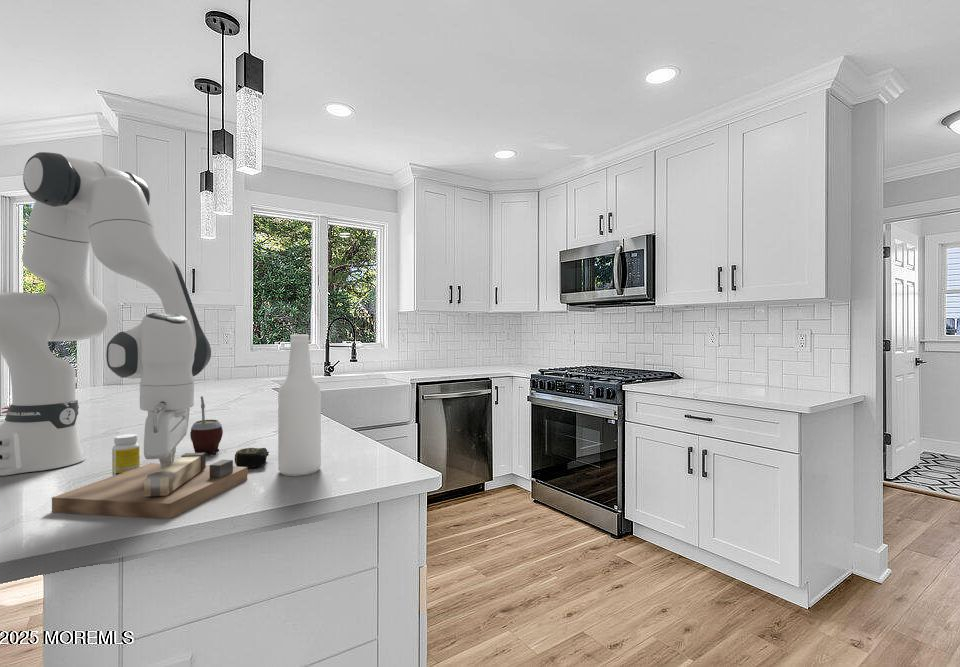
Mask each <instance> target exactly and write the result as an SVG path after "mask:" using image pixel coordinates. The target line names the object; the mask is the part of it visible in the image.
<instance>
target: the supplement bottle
mask: <svg viewBox="0 0 960 667" xmlns="http://www.w3.org/2000/svg"><path fill="white" fill-rule="evenodd" d="M113 441H114V445H113V447H112V449H111V450H112V452H111V454H112V458H111V459H112V466H111V468H112V476H115V475H118V474H121V473H124V472H127V471H130V470H133V469H135V468H138V467H141V466H140V463H141V462H140V459H141V458H140V444H139V443H138V435H137V434H136V433H127V434H120V435H117V436H114V440H113Z"/></svg>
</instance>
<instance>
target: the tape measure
mask: <svg viewBox="0 0 960 667" xmlns="http://www.w3.org/2000/svg"><path fill="white" fill-rule="evenodd" d="M269 455H270V454H269V451H268V449H267V448H266V447H245V448H241V449H238V450H237V451H236V452H235V454H234V464H235V465H236V467H247V469H248V468H255V467H261V466H264V465H266V463H267V458H268V457H269Z"/></svg>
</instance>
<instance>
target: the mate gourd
mask: <svg viewBox="0 0 960 667" xmlns="http://www.w3.org/2000/svg"><path fill="white" fill-rule="evenodd" d="M204 401H205V400H204V396H200V402H201V404H200V409H201V420H197V421H195V422H194V423H193V424H192V426H191V429H190V432H189V436H190V440H191V443H192V447H193V451H194V453H206V455H208V456H216V453H218V452H220V448H219V445H220V443H221V441H222V438H223V433H224V431H223V427H222V424H221V422H220V421H219V420H218V419H205V418H206V417H205V408H206V405H205V402H204Z"/></svg>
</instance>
